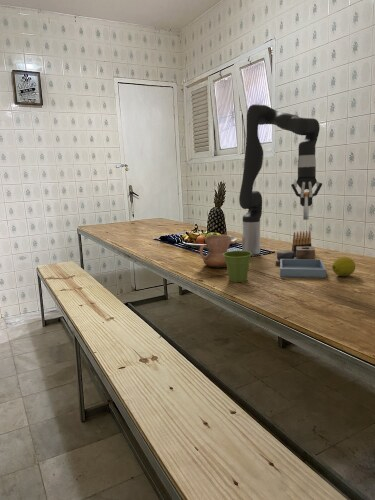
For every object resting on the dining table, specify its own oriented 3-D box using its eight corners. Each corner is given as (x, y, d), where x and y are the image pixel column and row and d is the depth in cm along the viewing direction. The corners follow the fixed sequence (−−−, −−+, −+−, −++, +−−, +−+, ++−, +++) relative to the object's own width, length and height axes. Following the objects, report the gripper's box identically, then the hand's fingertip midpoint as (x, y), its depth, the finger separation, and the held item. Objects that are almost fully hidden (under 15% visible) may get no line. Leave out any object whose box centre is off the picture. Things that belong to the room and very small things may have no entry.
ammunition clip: (309, 252, 202) (310, 230, 200) (311, 253, 201) (312, 230, 198) (291, 254, 200) (291, 231, 197) (293, 255, 198) (293, 232, 196)
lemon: (347, 272, 162) (348, 254, 161) (360, 277, 155) (361, 257, 153) (325, 275, 159) (326, 256, 158) (337, 280, 152) (338, 260, 150)
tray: (280, 276, 160) (280, 268, 159) (280, 266, 177) (280, 258, 176) (325, 278, 155) (326, 269, 155) (321, 266, 172) (321, 259, 172)
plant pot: (229, 275, 165) (228, 249, 163) (255, 277, 160) (255, 251, 158) (219, 282, 155) (218, 255, 152) (247, 285, 150) (247, 257, 147)
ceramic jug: (228, 260, 191) (227, 232, 189) (241, 266, 178) (240, 236, 175) (195, 265, 186) (193, 236, 183) (205, 272, 173) (204, 241, 170)
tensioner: (275, 265, 179) (275, 250, 177) (275, 259, 190) (276, 245, 188) (316, 266, 174) (316, 251, 173) (313, 259, 186) (314, 245, 184)
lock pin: (302, 219, 170) (303, 192, 168) (302, 219, 173) (302, 192, 171) (309, 219, 169) (310, 192, 167) (309, 218, 172) (309, 192, 170)
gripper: (290, 166, 165) (290, 207, 168) (324, 165, 162) (323, 206, 165) (289, 167, 172) (289, 205, 175) (322, 165, 169) (321, 204, 172)
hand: (306, 205), depth 170 cm, fingers closed on lock pin, 2 cm apart
